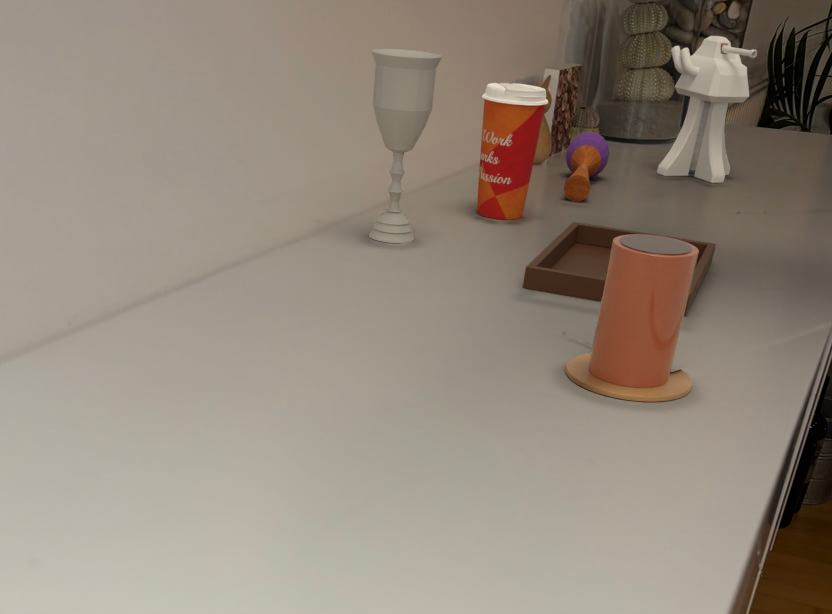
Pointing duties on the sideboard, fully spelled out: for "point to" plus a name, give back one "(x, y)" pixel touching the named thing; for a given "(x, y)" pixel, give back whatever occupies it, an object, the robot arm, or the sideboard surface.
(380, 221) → the chalice
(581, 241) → the tray
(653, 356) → the cup
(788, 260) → the sideboard surface
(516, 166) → the paper cup
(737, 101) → the white mech figurine
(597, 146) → the maraca
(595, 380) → the coaster
